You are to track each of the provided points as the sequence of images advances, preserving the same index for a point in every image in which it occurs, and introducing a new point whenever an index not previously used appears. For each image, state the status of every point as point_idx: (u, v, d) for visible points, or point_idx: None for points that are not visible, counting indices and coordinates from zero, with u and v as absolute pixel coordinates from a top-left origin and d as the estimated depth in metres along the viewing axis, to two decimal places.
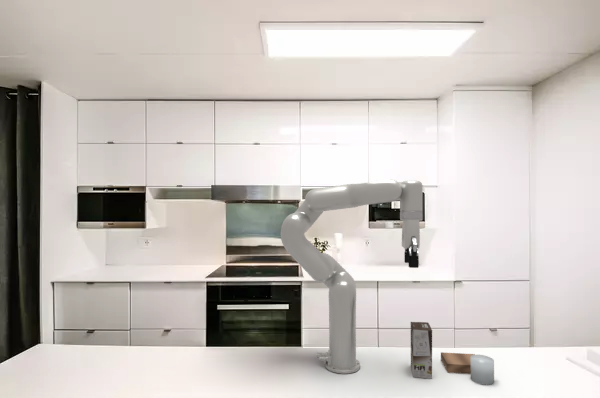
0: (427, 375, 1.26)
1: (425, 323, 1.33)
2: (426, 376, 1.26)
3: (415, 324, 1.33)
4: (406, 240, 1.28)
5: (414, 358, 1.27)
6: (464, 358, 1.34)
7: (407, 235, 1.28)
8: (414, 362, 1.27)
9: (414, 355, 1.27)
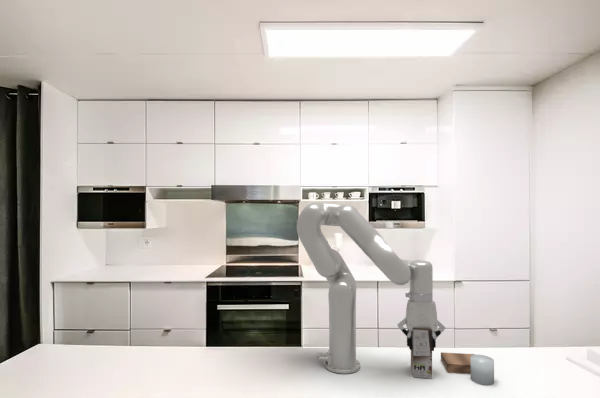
0: (427, 375, 1.26)
1: None
2: (426, 376, 1.26)
3: None
4: (437, 323, 1.28)
5: (414, 358, 1.27)
6: (464, 358, 1.34)
7: None
8: (414, 362, 1.27)
9: (414, 355, 1.27)
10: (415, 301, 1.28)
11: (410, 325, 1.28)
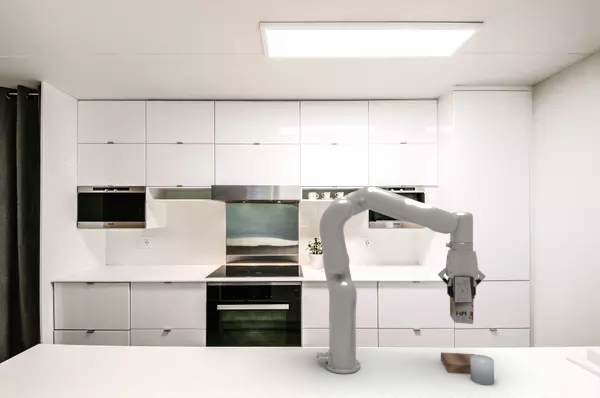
0: (469, 320, 1.30)
1: None
2: (468, 321, 1.30)
3: None
4: (477, 270, 1.32)
5: (456, 304, 1.31)
6: (464, 358, 1.34)
7: (477, 265, 1.32)
8: (456, 308, 1.31)
9: (456, 301, 1.31)
10: (456, 250, 1.32)
11: (451, 273, 1.32)
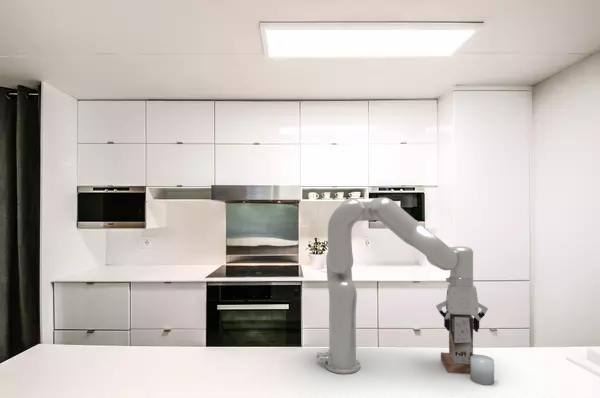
0: (468, 361, 1.30)
1: None
2: (467, 362, 1.30)
3: None
4: (477, 306, 1.32)
5: (455, 345, 1.30)
6: None
7: (477, 301, 1.32)
8: (455, 349, 1.30)
9: (455, 342, 1.30)
10: (456, 285, 1.32)
11: (451, 309, 1.32)
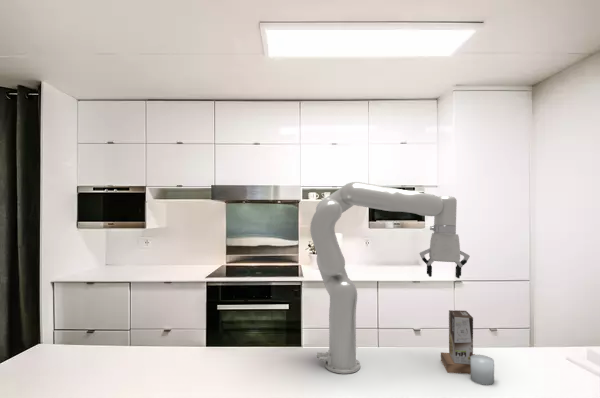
0: (468, 361, 1.30)
1: (463, 311, 1.37)
2: (467, 362, 1.30)
3: (454, 312, 1.36)
4: (459, 253, 1.35)
5: (455, 345, 1.30)
6: None
7: (459, 248, 1.35)
8: (455, 349, 1.30)
9: (455, 342, 1.30)
10: (439, 232, 1.36)
11: (434, 255, 1.36)
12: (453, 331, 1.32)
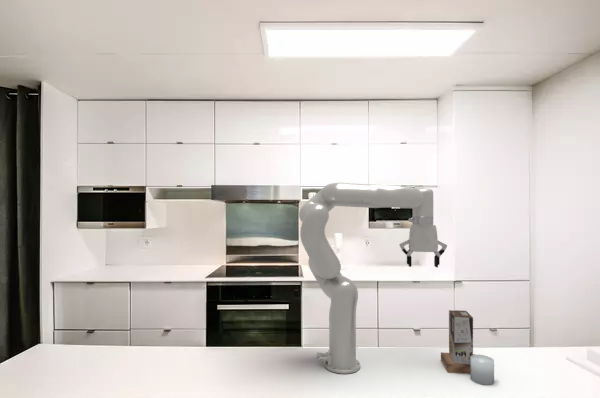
0: (468, 361, 1.30)
1: (463, 311, 1.37)
2: (467, 362, 1.30)
3: (454, 312, 1.36)
4: (437, 243, 1.40)
5: (455, 345, 1.30)
6: None
7: (437, 238, 1.41)
8: (455, 349, 1.30)
9: (455, 342, 1.30)
10: (417, 224, 1.41)
11: (413, 246, 1.41)
12: (453, 331, 1.32)
